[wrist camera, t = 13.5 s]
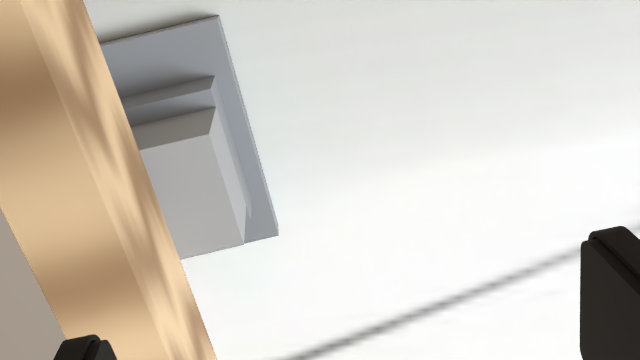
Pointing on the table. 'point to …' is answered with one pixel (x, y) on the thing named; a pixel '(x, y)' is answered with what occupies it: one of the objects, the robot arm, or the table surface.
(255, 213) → the fulcrum stand
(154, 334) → the tan long bar
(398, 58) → the table surface
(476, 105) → the table surface
